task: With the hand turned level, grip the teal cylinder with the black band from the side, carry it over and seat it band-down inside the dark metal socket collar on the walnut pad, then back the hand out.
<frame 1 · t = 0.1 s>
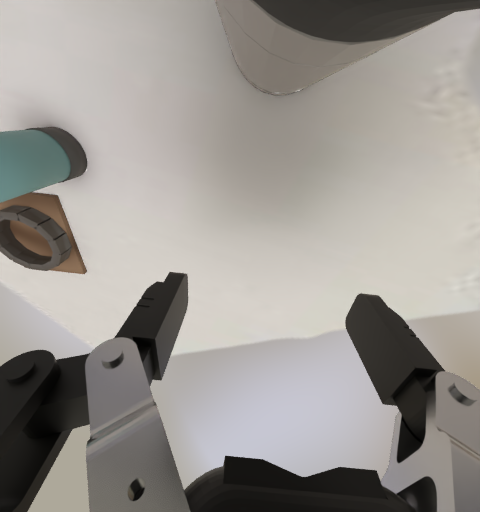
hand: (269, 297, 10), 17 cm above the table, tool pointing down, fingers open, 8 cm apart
socket: (41, 234, 29), on the table
teal cylinder: (63, 153, 23), on the table
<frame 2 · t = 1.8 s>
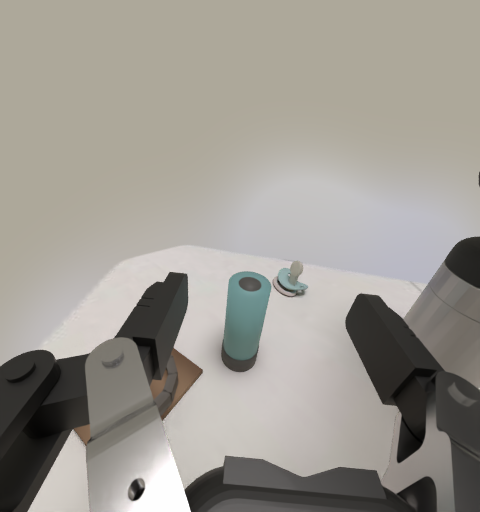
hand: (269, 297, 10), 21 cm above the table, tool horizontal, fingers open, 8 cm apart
pacifier: (287, 287, 45), on the table
socket: (139, 391, 25), on the table
teal cylinder: (238, 354, 30), on the table
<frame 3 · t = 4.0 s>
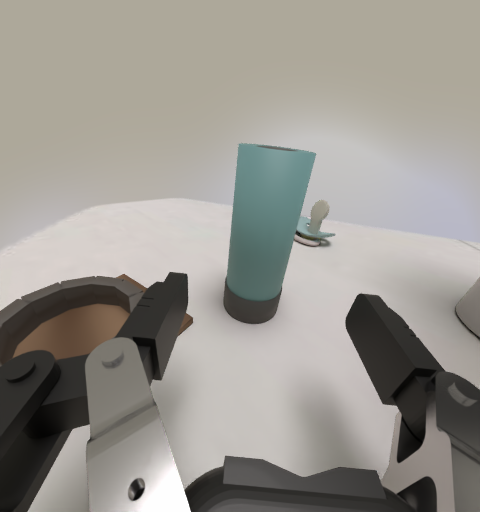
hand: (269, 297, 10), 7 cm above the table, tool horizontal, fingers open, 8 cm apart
pacifier: (305, 239, 35), on the table
socket: (82, 345, 14), on the table
teal cylinder: (250, 302, 20), on the table
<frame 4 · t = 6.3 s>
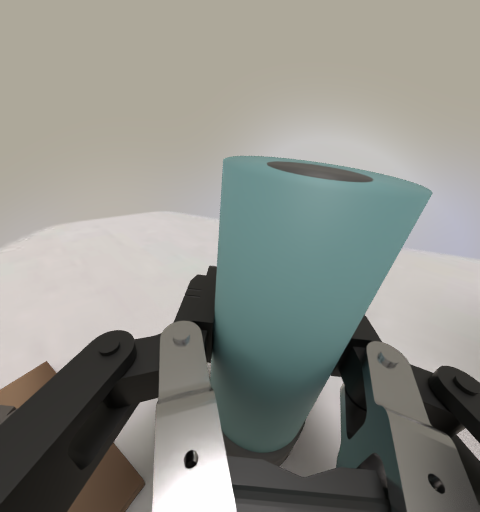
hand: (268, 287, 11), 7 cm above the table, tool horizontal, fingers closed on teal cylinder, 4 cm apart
teal cylinder: (250, 413, 12), on the table, touching gripper
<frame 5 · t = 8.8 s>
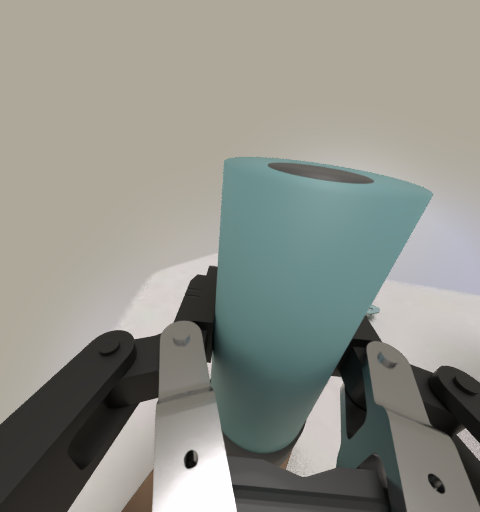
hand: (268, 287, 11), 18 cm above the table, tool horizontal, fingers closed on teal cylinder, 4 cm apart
socket: (216, 478, 17), on the table
teal cylinder: (251, 414, 12), point 11 cm above the table, touching gripper
when the fingers open (9 cm above the table, at t = 11.5 s): teal cylinder drops 1 cm, resting on socket.
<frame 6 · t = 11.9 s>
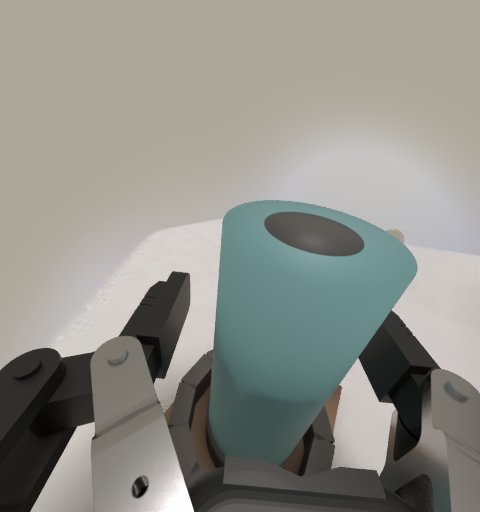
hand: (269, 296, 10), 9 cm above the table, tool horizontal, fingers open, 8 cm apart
socket: (246, 430, 13), on the table
teal cylinder: (248, 427, 13), point 1 cm above the table, touching socket
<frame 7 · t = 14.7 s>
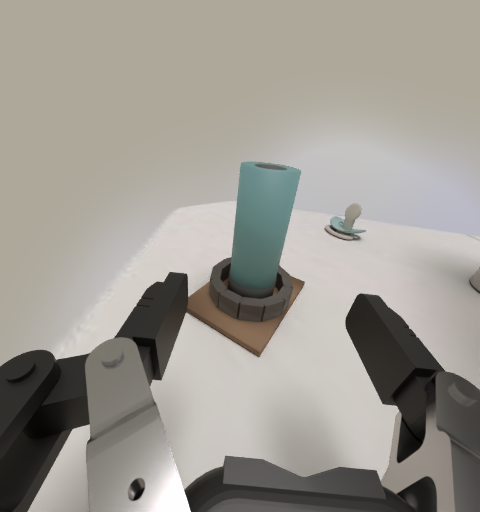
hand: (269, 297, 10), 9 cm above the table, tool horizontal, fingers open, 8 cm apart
pacifier: (340, 234, 43), on the table
socket: (248, 295, 24), on the table
teal cylinder: (249, 291, 24), point 1 cm above the table, touching socket
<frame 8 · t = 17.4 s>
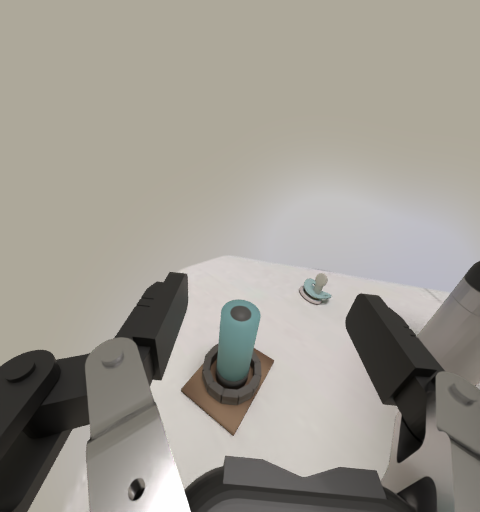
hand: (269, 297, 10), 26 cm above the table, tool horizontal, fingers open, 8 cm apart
pacifier: (312, 296, 52), on the table
socket: (231, 375, 33), on the table
teal cylinder: (231, 374, 32), point 1 cm above the table, touching socket
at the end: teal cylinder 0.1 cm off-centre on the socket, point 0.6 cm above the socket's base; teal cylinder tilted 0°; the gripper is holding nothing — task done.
